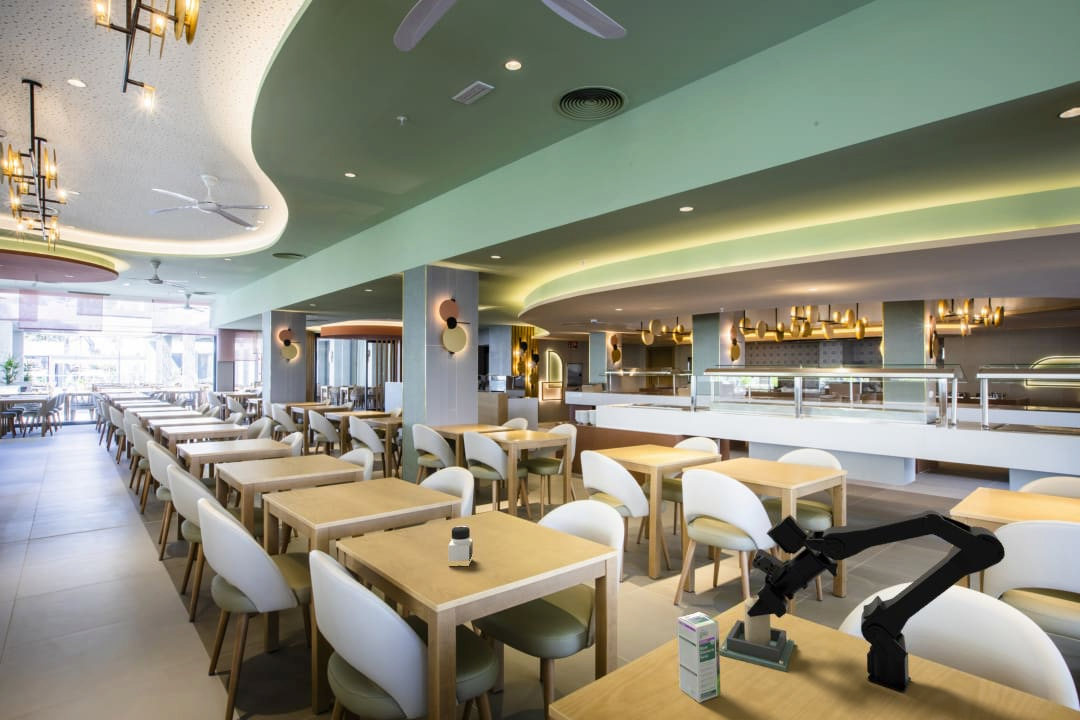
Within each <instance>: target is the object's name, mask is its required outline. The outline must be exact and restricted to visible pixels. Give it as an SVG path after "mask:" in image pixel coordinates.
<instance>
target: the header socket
mask: <svg viewBox="0 0 1080 720" xmlns="http://www.w3.org/2000/svg"><path fill="white" fill-rule="evenodd" d="M770 633H771V642H770V645H768V646H765V645H761V644H757V643H752V642H748V641H746V640H745V620H739V619H737V620H736V622H735V623H734V625H733V626H732V627H731V629H730V630H729V632H728V633H727V636H726V637H725V639H724V640H723V642H722V644H721V645H720V646H719V656H724V657H728V658H732V659H735V660H739V661H744V662H747V663H752V664H755V665H759V666H763V667H767V668H771V669H776V670H778V671H782V672H786V671H787V670H788V666H789V662H790V659H791V656H792V653H793V651H794V650H793V649H794V647H793V646H795V640H794V639H792V638H790V637H787V630H785V629H780V628H776V627H771V626H770Z"/></svg>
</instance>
